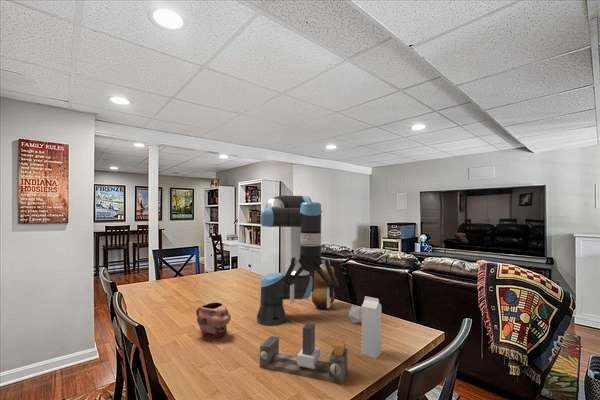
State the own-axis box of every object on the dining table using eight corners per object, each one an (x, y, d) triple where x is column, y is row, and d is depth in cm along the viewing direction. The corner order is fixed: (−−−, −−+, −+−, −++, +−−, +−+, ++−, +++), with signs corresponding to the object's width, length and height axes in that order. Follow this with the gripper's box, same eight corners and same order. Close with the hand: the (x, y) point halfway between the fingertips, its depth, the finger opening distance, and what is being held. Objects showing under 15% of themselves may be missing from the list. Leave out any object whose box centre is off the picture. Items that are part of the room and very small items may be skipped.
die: (361, 328, 140) (370, 310, 143) (346, 318, 141) (355, 301, 145) (358, 328, 147) (366, 311, 151) (343, 318, 149) (352, 302, 152)
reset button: (331, 356, 96) (331, 344, 97) (334, 351, 100) (334, 339, 100) (343, 358, 95) (343, 346, 95) (345, 353, 99) (345, 341, 99)
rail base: (258, 367, 102) (259, 346, 102) (270, 355, 111) (270, 335, 111) (342, 385, 92) (342, 361, 92) (347, 370, 101) (347, 348, 101)
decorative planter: (184, 337, 126) (185, 305, 127) (204, 327, 137) (204, 297, 138) (219, 346, 118) (220, 312, 118) (238, 335, 129) (238, 303, 129)
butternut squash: (328, 313, 159) (329, 267, 160) (307, 308, 165) (308, 265, 167) (338, 306, 171) (338, 264, 172) (318, 302, 177) (318, 262, 179)
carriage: (296, 367, 98) (297, 328, 99) (304, 356, 106) (304, 320, 106) (313, 371, 96) (313, 331, 97) (319, 359, 104) (320, 322, 104)
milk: (367, 348, 117) (367, 294, 119) (381, 353, 114) (381, 297, 115) (361, 354, 113) (361, 297, 114) (376, 359, 109) (375, 300, 110)
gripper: (274, 244, 103) (273, 304, 102) (343, 247, 96) (343, 311, 95) (281, 242, 110) (281, 298, 109) (346, 245, 103) (346, 305, 102)
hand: (309, 304), depth 102 cm, fingers open, 13 cm apart
